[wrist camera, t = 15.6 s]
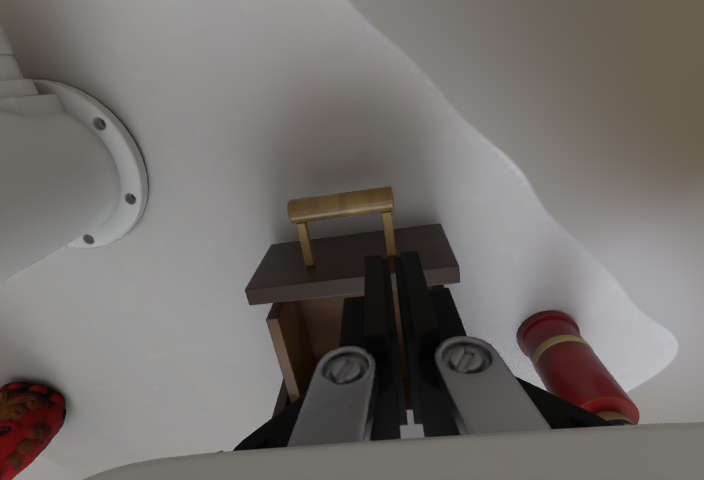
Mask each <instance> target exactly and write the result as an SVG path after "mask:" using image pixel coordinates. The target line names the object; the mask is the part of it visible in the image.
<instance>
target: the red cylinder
mask: <svg viewBox="0 0 704 480" xmlns="http://www.w3.org/2000/svg"><path fill="white" fill-rule="evenodd" d="M517 341H518V345H519V347H520V349H521V350H522V352H523V353H524V354H525V355H526V356H527V357H529V358H530V360H531V362H532V363H533V366H534V369H535V370H536V372H537V374H538V375H539V377H540V378H541V380H542V382H543V384H544V386H545V388H546V389H547V391H548V392H549V393H551V394H553V395H556V396H558V397H560V398H562V399H564V400H566V401H568V402H570V403H572V404H575V405H577V406H579V407H581V408H583V409H585V410H587V411H589V412H591V413H594V414H596V415H598V416H600V417H601V418H603V419H605V420H606V421H608V422H610V423H611V424H612V425H613V426H622V425H625V424H632V425H637V424H638V421H639V411H638V409H637V407H636V406H635V404H634V403H633V402H632V401H631V399H630V398H629V397H628V395H627V394H626V393H625V392H624V390H623V389H622V388H621V386H620V385H619V384H618V383H617V381H616V380H615V379H614V377H613V376H612V375H611V374H610V372H609V371H608V370H607V368H606V367H605V366H604V365H603V363H602V362H601V361H600V359H599V358H598V357H597V356H596V354H595V353H594V351H593V349H592V348H591V347H590V346H589V344H588V343H587V342H586V341H585V340H584V339H583V338H582V336H581V335H580V331H579V328H578V326H577V324H576V323H575V321H574V320H573V319H572V318H571V317H570V316H568V315H567V314H564V313H562V312H558V311H546V312H541V313H538V314H535V315H533V316H532V317H530V318H529V319H527V320H526V321H525V322H524V323H523V324H522V325H521V327H520V329H519V331H518V335H517Z"/></svg>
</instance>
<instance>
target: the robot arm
mask: <svg viewBox="0 0 704 480" xmlns="http://www.w3.org/2000/svg"><path fill="white" fill-rule="evenodd" d="M14 56H15V53H14V51H13V49H12V47H11V45H10V42H9V40H8V38H7V36H6V34H5V32H4V30H3V27H2V25H1V24H0V282H2V281H3V280H5V279H7V278H9V277H10V276H12V275H14V274H16V273H17V272H19V271H21V270H23V269H24V268H26V267H28V266H30V265H32V264H33V263H35V262H37V261H39V260H40V259H42V258H44V257H46V256H47V255H49V254H51V253H53V252H54V251H56V250H58V249H60V248H61V247H63V246H67V247H73V248H95V247H100V246H104V245H107V244H109V243H112V242H114V241H116V240H118V239H119V238H121V237H122V236H124V235H125V234H127V233H128V232H129V231H130V230H131V229H132V228H133V227H134V226H135V225H136V224H137V222H138V221H139V219H140V218H141V216H142V214H143V211H144V208H145V205H146V202H147V193H148V183H147V173H146V169H145V166H144V162H143V159H142V156H141V154H140V152H139V150H138V148H137V146H136V144H135V141H134V140H133V138H132V137H131V135H130V134H129V133H128V131H127V130H126V128H125V127H124V125H123V124H122V123H121V122H120V121H119V120H118V119H117V118H116V117H115V116H114V114H113V113H112V112H111V111H109V110H108V109H107V108H106V107H105V106H103V105H102V104H101V103H100V102H98V101H97V100H96V99H94V98H93V97H91V96H89V95H87V94H86V93H84V92H82V91H81V90H79V89H76V88H74V87H71V86H68V85H66V84H63V83H60V82H54V81H49V80H32V79H24V77H23V75H22V73H21V71H20V69H19V66H18V64H17V62H16V60H15V58H14ZM394 263H395V272H396V281H397V291H398V300H399V310H400V319H401V328H402V337H403V344H404V351H405V359H406V366H407V373H408V381H409V388H410V395H411V403H412V410H413V417H414V424H422V425H423V431H424V437H425V438H410V439H401V432H400V426H401V425H408V422H407V413H406V404H405V395H404V386H403V377H402V368H401V359H400V351H399V342H398V333H397V324H396V316H395V308H394V299H393V291H392V282H391V274H390V266H389V258H385V259H382V255H372V256H365V281H364V296H359V297H349V298H344V302H343V312H342V322H341V332H340V343H339V348H337V349H334V350H332V351H330V352H329V353H327V354H326V355H324V356H323V357H322V358H321V359H320V361H319V363H318V364H317V366H316V369H315V372H314V375H313V377H312V380H311V383H310V385H309V388H308V391H307V392H306V393H305V394H303V395H302V396H301V397H299V398H298V399H297V400H295V401H294V402H293V403H291V404H290V405H289V406H287V407H286V408H285V409H284V410H282V411H281V412H280V413H278V414H277V415H276V416H274V417H273V418H272V419H270V420H269V421H268V422H266V423H265V424H264V425H262V426H261V427H260V428H259V429H257V430H256V431H255V432H253V433H252V434H251V435H249V436H248V437H247V438H245V439H244V440H243V441H242V442H241V443H240V444H239V445H238V446H237V447H235V449H234V450H233V451H229V452H223V451H219V452H216V453H205V454H196V455H187V456H178V457H169V458H160V459H153V460H148V461H143V462H138V463H132V464H128V465H124V466H121V467H117V468H114V469H111V470H107V471H104V472H101V473H98V474H96V475H93V476H91V477H88V478H86V479H83V480H704V422H703V423H702V422H701V423H664V424H662V423H661V424H639V425H632V424H625V425H622V426H613V425H612V424H611V423H610V422H608V421H606V420H605V419H603V418H601V417H600V416H598V415H596V414H594V413H591V412H589V411H587V410H585V409H583V408H581V407H579V406H577V405H575V404H572V403H570V402H568V401H566V400H564V399H562V398H560V397H558V396H556V395H553V394H551V393H549V392H547V391H545V390H543V389H541V388H539V387H537V386H534V385H532V384H530V383H528V382H526V381H524V380H522V379H520V378H518V377H515V376H514V375H513V373H512V372H511V370H510V369H509V368H508V366H507V365H506V363H505V362H504V361H503V359H502V358H501V356H500V355H499V353H498V352H497V351H496V350H495V348H494V347H493V346H492V345H491V344H489V343H487V342H485V341H484V340H481V339H478V338H475V337H469V336H467V335H466V332H465V330H464V327H463V325H462V322H461V319H460V317H459V314H458V311H457V309H456V306H455V303H454V301H453V298H452V295H451V293H450V290H449V288H438V289H428V286H427V283H426V279H425V276H424V272H423V269H422V265H421V262H420V258H419V255H418V251H408V252H400V257H394Z"/></svg>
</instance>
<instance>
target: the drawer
mask: <svg viewBox="0 0 704 480" xmlns="http://www.w3.org/2000/svg"><path fill="white" fill-rule="evenodd" d="M393 210H394V203H393V195H392V188H391V187H390V186H389V187H382V188H375V189H367V190H360V191H353V192H346V193H339V194H331V195H324V196H317V197H310V198H302V199H295V200H290V201H289V202H288V215H289V219H290V221H291V223H293V224H295V223H296V227H297V232H298V236H299V240H300V241H296V242H288V243H280V244H272V245H271V246H270V248H269V250H268V251H267V253H266V255H265V256H264V258H263V260H262V261H261V263H260V265H259V267H258V268H257V270H256V272H255V273H254V275H253V277H252V279H251V280H250V282H249V284H248V285H247V287H246V289H245V292H246V295H247V299H248V302H249V305H258V304H267V303H273V305H272V307H271V310H270V312H269V314H268V317H267V319H266V321H267V324H268V328H269V331H270V334H271V338H272V341H273V344H274V348H275V351H276V354H277V358H278V361H279V364H280V367H281V371H282V374H283V377H284V381H285V384H286V387H287V391H288V394H289V397H290V401H291V403H293V402H294V401H295V400H297V399H298V398H299V397H301V396H302V395H303V394H305V393H306V392H307V391H308V388H309V385H310V383H311V380H312V377H313V375H314V372H315V369H316V366H317V364H318V363H319V361H320V359H321V358H322V357H323V356H324V355H326V354H327V353H329V352H330V351H332V350H334V349H337V348H339V343H340V332H341V322H342V312H343V302H344V298H349V297H359V296H364V281H365V256H372V255H382V259H385V258H389V266H390V274H391V282H392V291H393V299H394V308H395V316H396V324H397V333H398V342H399V351H400V359H401V368H402V377H403V386H404V395H405V401H411V395H410V388H409V381H408V373H407V366H406V359H405V351H404V344H403V337H402V328H401V319H400V310H399V300H398V291H397V281H396V272H395V263H394V257H400V252H408V251H418V255H419V258H420V262H421V265H422V269H423V272H424V276H425V279H426V283H427V286H428V289H438V288H444V285H443V284H452V283H459V282H460V272H459V265H458V262H457V260H456V258H455V255H454V253H453V251H452V248H451V246H450V244H449V242H448V239H447V237H446V235H445V232H444V230H443V228H442V225H441V224H440V223H439V224H431V225H423V226H415V227H407V228H399V229H393V222H392V214H391V211H393ZM379 212H382V220H383V227H384V230H383V231H375V232H367V233H359V234H352V235H344V236H336V237H328V238H320V239H312V240H310V236H309V231H308V227H307V222H310V221H318V220H325V219H333V218H341V217H348V216H356V215H363V214H371V213H379Z"/></svg>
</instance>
